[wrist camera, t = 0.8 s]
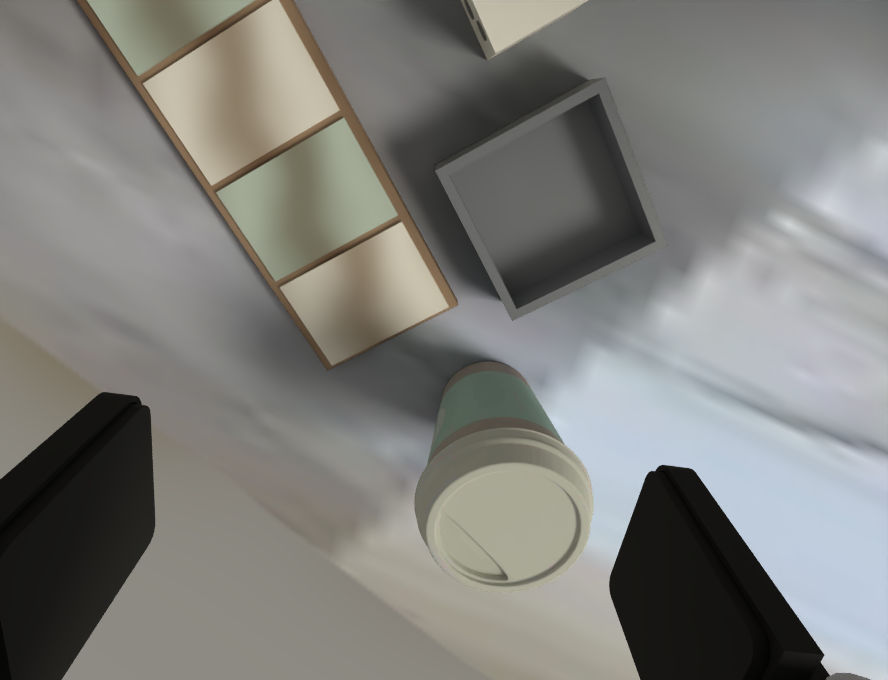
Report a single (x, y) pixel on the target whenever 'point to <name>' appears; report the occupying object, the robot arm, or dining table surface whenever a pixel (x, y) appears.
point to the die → (512, 20)
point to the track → (282, 162)
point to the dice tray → (553, 199)
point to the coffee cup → (501, 486)
